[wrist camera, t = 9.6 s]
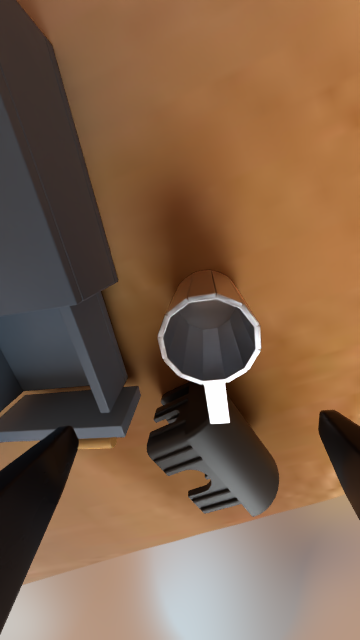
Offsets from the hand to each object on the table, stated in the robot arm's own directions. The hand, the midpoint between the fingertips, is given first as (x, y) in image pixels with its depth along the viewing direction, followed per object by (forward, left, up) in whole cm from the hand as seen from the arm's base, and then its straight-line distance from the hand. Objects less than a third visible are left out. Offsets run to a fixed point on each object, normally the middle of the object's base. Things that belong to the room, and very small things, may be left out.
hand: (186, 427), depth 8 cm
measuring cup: (0, -1, -11) cm, 11 cm away
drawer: (-2, +13, -11) cm, 17 cm away
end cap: (-11, 0, -12) cm, 16 cm away
